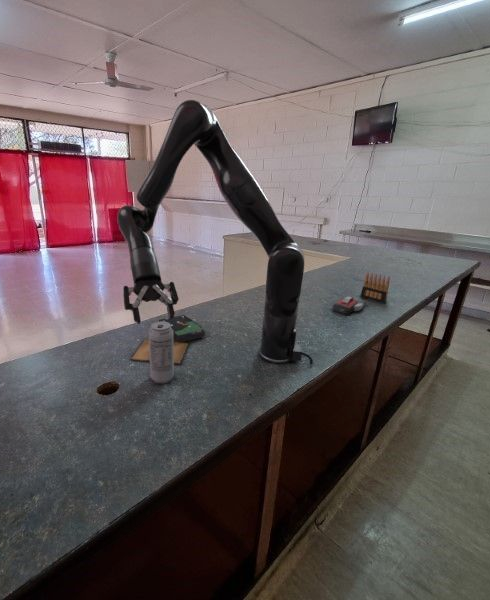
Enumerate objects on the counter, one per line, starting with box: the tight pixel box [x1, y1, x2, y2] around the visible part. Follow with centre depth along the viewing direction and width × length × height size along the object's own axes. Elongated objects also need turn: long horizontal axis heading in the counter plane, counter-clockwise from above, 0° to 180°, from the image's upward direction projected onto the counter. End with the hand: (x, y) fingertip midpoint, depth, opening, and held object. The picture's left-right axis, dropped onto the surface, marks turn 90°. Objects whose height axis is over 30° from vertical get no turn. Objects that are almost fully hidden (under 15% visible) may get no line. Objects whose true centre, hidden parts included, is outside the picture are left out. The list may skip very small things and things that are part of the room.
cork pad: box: [131, 338, 189, 365], centre depth 94 cm, size 14×12×1 cm
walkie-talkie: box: [332, 295, 369, 315], centre depth 132 cm, size 9×4×20 cm
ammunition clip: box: [359, 271, 391, 304], centre depth 141 cm, size 11×2×12 cm, turn 42°
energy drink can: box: [148, 320, 175, 384], centre depth 79 cm, size 6×6×15 cm
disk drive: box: [158, 314, 206, 343], centre depth 107 cm, size 10×3×15 cm
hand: (155, 320), depth 82 cm, fingers open, 8 cm apart
